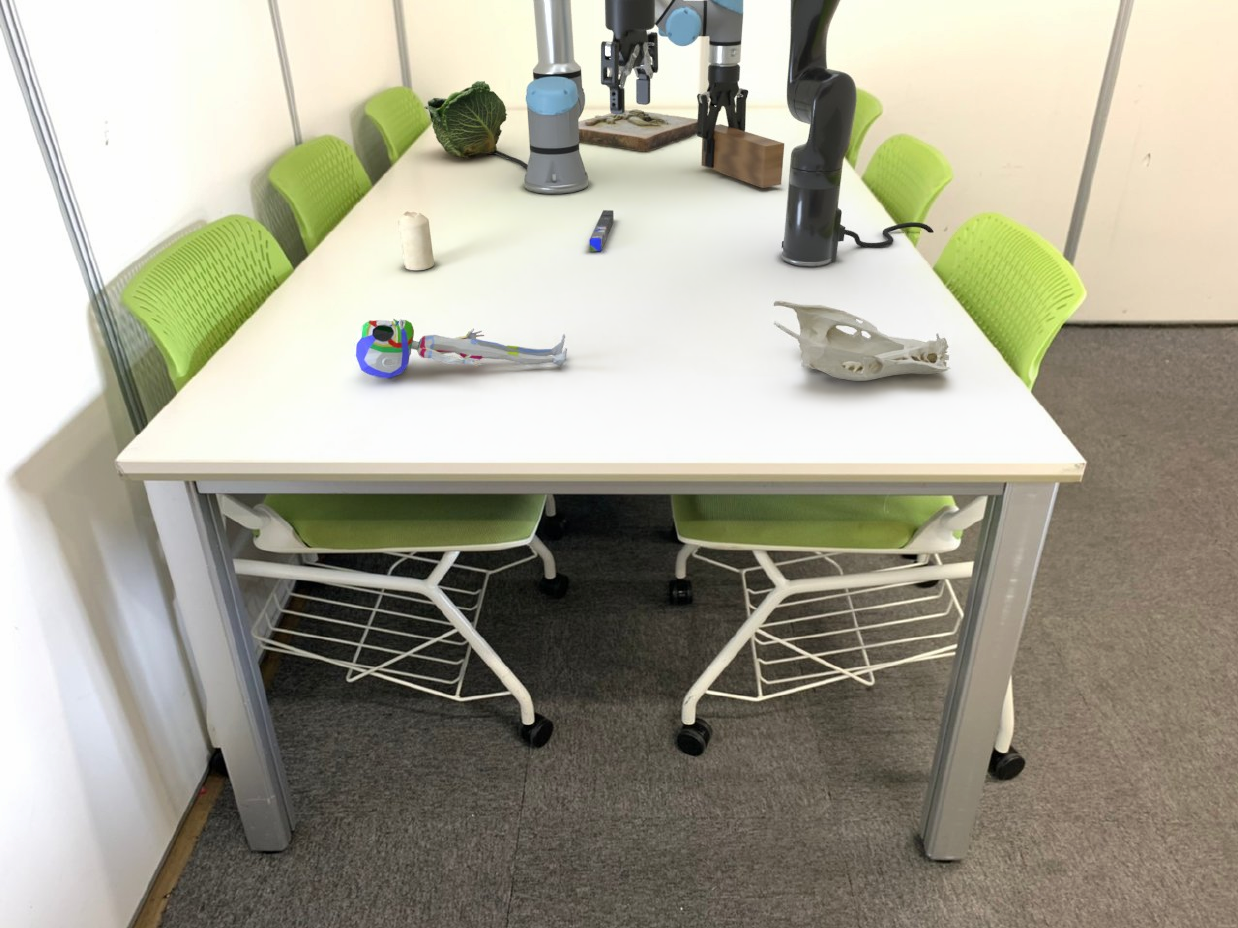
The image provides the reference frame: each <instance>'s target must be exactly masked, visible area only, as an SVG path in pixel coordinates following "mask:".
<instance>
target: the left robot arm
mask: <svg viewBox="0 0 1238 928" xmlns="http://www.w3.org/2000/svg"><path fill="white" fill-rule="evenodd" d="M532 2H533V11H534V26H535V37H536V49H537V64H536V65H535V66H534V67H533V68H532V78H533V80H532V81H530V82H529V83H528V85H527V86H526V91H525V93H526V94H525V103H526V110H527V111H526V112H527V125H528V126H527V127H528V140H529V141H528V142H529V157H528V162H527V163H526V162H525V161H523V160H521V159H519V158H516V157H513V156H511V155H509V154H506V153H503V152H501V151H499V150H498V149H497V150H496V151H495V155H498V156H500V157H503V158H504V159H507V160H509V161H512V162H515V163H517V164H520V165H521V166H522V167H524V168H525V169H526V172H525V175H524V178H523V183H524V188H525V189H526V190H527V191H530V192H531V193H535V194H536V193H537V194H543V195H544V194H545V195H562V194H570V193H576V192H579V191H583V190H584V189H586V188H587V187H589V175H588V173H587V171H586V168H585V164H584V161H583V158H582V156H581V153H580V141H579V125H578V122H579V119H580V118H581V116H582V114H583V113H584V110H585V105H586V94H585V91H584V90H585V89H584V88H583V75H582V67H581V65H580V64H579V63H578V62H577V61H576V60H575V49H574V48H575V47H574V33H573V31H574V30H573V19H572V18H573V17H572V16H573V15H572V2H571V0H532ZM743 23H744V0H655V27H657V29H658V30H657V31H658V32H657V34H658V35H659V36H660V37H666V38H668V40H669V41H670V42H671V43H672V44H674V45H675V46H678V47H687V46H689V45H692V44H693V43H695V41H697V40H698V38H699V37H704V38H705V37H709V38H708V39H709V40H708V56H707V57H708V59H707V62H708V63H709V65H708V66H707V81H708V86H707V88H706V91H705V92H703V93H698V94H697V95H696V99H697V104H698V109H697V119H698V121H697V133H696V137H698V138H700V139H702V138H703V139H704V145H703V146H704V147H703V151H704V153H705V166H708V167H711V168H713V167H714V148H715V140H713V139H712V137H713V133H714V129H715V125H717V121H718V117H719V114H720V112H721V111H722V107H724V109H725V114H726V115H725V116H726V121H727V126H728V127H732V128H735V129H738V130H742V131H745V132H746V118H747V117H746V116H747V99H748V95H749V90H748V89H745V88H740V86H739V81H740V80H741V79H740V75H741V65H740V64H739V63H740V62H741V59H742V58H741V57H742V56H741V55H742V40H743V38H742V37H743Z"/></svg>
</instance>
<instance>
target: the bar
mask: <svg viewBox="0 0 1238 928" xmlns="http://www.w3.org/2000/svg"><path fill="white" fill-rule="evenodd" d="M712 139H713V140H715V148H714V167H713V168H711V167H708V166H705V153H704V151H703V147H704V146H703V145H704V139H703V138H701V163H700V164H701V165H700V166H702V167H705V168H707V169H709V170H712V171H715V172H717V173H719V174H720V173H721V174H723V175H726V176H728V177H731V178H734V179H737V180H739V181H742V182H745V183H747V184H750V185H753V186H756V187H758V188H761V189H764V188H770V187H775V186H782V181H783V180H782V179H783V168H784V154H785V153H784V152H785V142H782V141H777V140H775V139H771V138H768V137H765V136H762V135H758V134H754V133H751V132H748V131H746V130H745V131H742V130H738V129H735V128H732V127H728V125H725V124H722V123H720V124H716V125H715V129H714V133H713V137H712Z"/></svg>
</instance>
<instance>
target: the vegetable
mask: <svg viewBox="0 0 1238 928" xmlns="http://www.w3.org/2000/svg"><path fill="white" fill-rule="evenodd" d="M424 109H425V110H428V113H429V117H430V119H429V120H430V121H431V123H432V129H433V132H434V134H435V138H436V140H437V142H438V143H439V144H440V145H441V146H442V148H443V149H444V151H445V152H446V153H448V154H450V155H451V156H454V157H459V158H466V159H468V158H470V157H469V156H472V155H476V154H479V153H482V154H484V153H485V154H488V155H489V154H490V155H496V153H495V151H496V150H497V151H498V146H497V144H498V142H499V139H500V136H501V134H502V133H503V132H502V131H503V130H502V129H501V126H502V125H503V123H504V122H505V121H507V116H508V113H507V108H506V105H505V102H504V101H503V100H502V98H500V96H498V94H497V93H496V92H495V91H493V90H491V87H490V85H489V84H488V83H487V82H485V80H483V81H481V80H480V81H479V80H476V81H475V82H474V83H472V84H471V86H468V87H466V88H464V89H462V90H460V91H455V92H452V93H450V95H449V96H448V97H447V98H441V97H433V98H432V99H429V100H428V101H427V105H425V106H424Z"/></svg>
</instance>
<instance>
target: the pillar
mask: <svg viewBox="0 0 1238 928" xmlns="http://www.w3.org/2000/svg"><path fill="white" fill-rule="evenodd" d="M614 216H615V215H614V210H613V209H612V210H611V209H602V212H601V214H600V216H599V219H598V221H597V222H596V225H595V227H594V229H593V231H592V234H591V236H590V237H589V241H588V243H589V244H588V245H589V246H588V247H589V248H588V250H589V252H601V251H602V249H603V247H604V245H605V242H606V239H607V237H608V235H609V232H610V231H611V228H612V226H613V223H614Z"/></svg>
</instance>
